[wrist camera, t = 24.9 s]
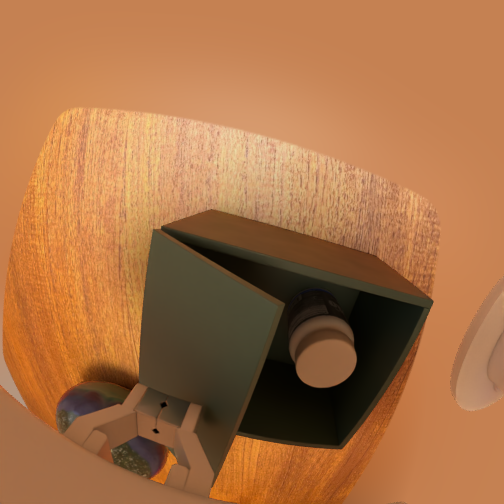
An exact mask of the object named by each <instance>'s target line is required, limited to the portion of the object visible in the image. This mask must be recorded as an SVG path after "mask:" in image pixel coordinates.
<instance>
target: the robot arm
mask: <svg viewBox="0 0 504 504" xmlns="http://www.w3.org/2000/svg"><path fill="white" fill-rule="evenodd" d="M488 378H489V379H490V380H491V381H492V382H493V383H494V390H495V391H496V392H499V391H502V392H503V393H504V332H503V333H502V335H501V337H500V338H499V340H498V342H497V344H496V346H495V348H494V351H493V353H492V356H491V359H490V362H489V366H488ZM201 411H202V406H201V405H198V404H194V403H191V402H189V401H185V400H182V399H179V398H176V397H173V396H170V395H167V394H164V393H162V392H159V391H157V390H154V389H152V388H150V387H147V386H145V385H142V384H140V383H137V384H136V385H135V387H134V388H133V389H132V391H131V392H130V394H129V395H128V397H127V398H126V400H125V401H124V403H123V404H122V405H120V404H117V405H114V406H111V407H108V408H105V409H102V410H99V411H96V412H93V413H90V414H86V415H83V416H80V417H77V418H76V419H75V420H74V421H73V423H72V424H71V425H70V426H69V428H68V429H67V430H66V431H65V433H64V434H63V435H62V434H61V433H59V432H58V431H56V430H55V429H53V428H52V427H51V426H49V425H48V424H46V423H45V422H44V421H42V420H41V419H40V418H38V417H37V416H36V415H34V414H33V413H32V412H31V411H29V410H28V409H27V408H26V407H24V406H23V405H22V404H21V403H20V402H18V401H17V400H16V399H15V398H14V397H12V395H10V394H9V393H8V392H7V391H6V390H5V389H4V388H3V387H2V386H1V385H0V504H237V503H231V502H226V501H221V500H216V499H212V498H209V495H210V490H211V486H212V482H213V478H214V472H213V470H212V468H211V466H210V464H209V462H208V459H207V457H206V455H205V453H204V450H203V448H202V446H201V443H200V441H199V439H198V436H197V434H196V430H197V426H198V423H199V419H200V415H201ZM137 435H139V436H142V437H144V438H147V439H150V440H152V441H155V442H158V443H160V444H163V445H165V446H168V447H170V448H173V449H174V453H175V456H176V459H177V462H178V464H174V465H172V467H171V469H170V472H169V474H168V477H167V479H166V482H165V484H161V483H158V482H155V481H153V480H150V479H147V478H145V477H142V476H140V475H138V474H135V473H133V472H131V471H128V470H126V469H124V468H122V467H120V466H117V465H115V464H113V463H114V462H113V458H112V454H111V451H110V450H111V449H113V448H115V447H117V446H119V445H121V444H123V443H125V442H127V441H129V440H131V439H133V438H134V437H136V436H137ZM391 504H407V503H405V502H396V503H391Z"/></svg>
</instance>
